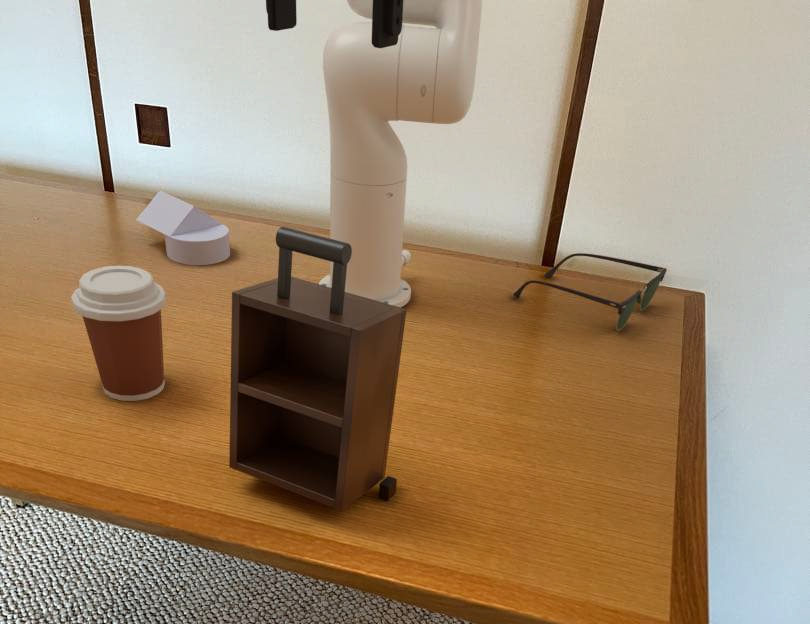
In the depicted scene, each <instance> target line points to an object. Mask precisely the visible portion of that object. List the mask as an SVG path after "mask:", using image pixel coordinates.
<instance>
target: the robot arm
mask: <svg viewBox="0 0 810 624" xmlns="http://www.w3.org/2000/svg"><path fill="white" fill-rule="evenodd" d="M346 1H347V4H348V6H349V8H350V9H351V10H352V11H353V12H354V13H355V14H357V15H358V16H360V17H362V18H365V19H369V20H371V21H354V22H348V23H345V24H341V25H340V26H338V27H336V28H335V29H333V30H332V32H331V33H330V34H329V35H328V37H327V39H326V41H325V44H324V47H323V52H322V53H323V54H322V72H323V81H324V88H325V89H324V90H325V96H326V103H327V113H328V123H329V146H330V147H329V149H330V152H329V153H330V155H329V156H330V157H329V159H330V160H329V162H330V165H329V167H330V169H329V171H330V173H329V174H330V175H329V176H330V177H329V182H330V184H329V204H330V205H329V238H330V239H334V240H338V241H341V242H345V243H349V244H350V245H351V248H352V255H351V258H350V261H349V262H348V263H347V272H346V283H345V292H347V293H351V294H355V295H358V296H362V297H365V298H369V299H372V300H376V301H379V302H383V303H386V304H390V305H393V306H397V307H400V308H403V307H404V306H406V305H407V304H408V303H409V302H410V300H411V299H412V298H411V295H412V288H411V286H410V284H409V283H408V282H407V281H405V279H403V278H401V277H402V276H401V275H402V269H403V267H404V266H406V265H407V264H409V263H411V261H412V254H411V252H410V251H409V250H407V249H403V245H404V243H403V242H404V230H405V229H404V227H405V214H406V213H405V211H406V196H407V194H406V193H407V181H408V159H407V154H406V150H405V148H404V146H403V143H402V142H401V140H400V138H399V137H398V135H397V134H396V132H395V130H394V129H393V127H392V126H391V124H390V122H392V121H393V122H398V121H401V122H413V123H424V124H438V125H452V124H456V123H459V122H461V121H462V120H463V119H464V118H465V117H466V116H467V114H468V112H469V111H470V108H471V105H472V100H473V97H474V92H475V91H474V90H475V84H476V83H475V82H476V73H477V62H478V51H479V43H480V42H479V40H480V32H481V31H480V30H481V21H482V11H483V10H482V9H483V0H346ZM265 10H266V14H267V28H268V29H269V31H275V32H278V31H284V30H290V29H294V28H295V27H296V26H297V24H298V23H297V21H298V19H297V18H298V17H297V0H265ZM405 24H406V25H405ZM407 24H409V25H407ZM413 25H419V26H413ZM424 26H430V27H424ZM332 275H333V262H331V261H329V274H327V275H325V276H324V277H323V278H321V279H320V281H319V282H318V284H319V285H323V286H326V287H330V288H331V287H332Z"/></svg>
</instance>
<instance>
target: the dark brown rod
mask: <svg viewBox="0 0 810 624" xmlns="http://www.w3.org/2000/svg"><path fill="white" fill-rule="evenodd" d="M397 483H398V479H397V478H395V477H393V476H391V475H387V476H385V478H384V479H382V480H381V481H380V482H379V485H378V486H379V490H378V498H379V499H382V500H384V501H387V502H388V501H390V499H391V498H392V497H393V496H394V495H395V494H396V493H397Z"/></svg>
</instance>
